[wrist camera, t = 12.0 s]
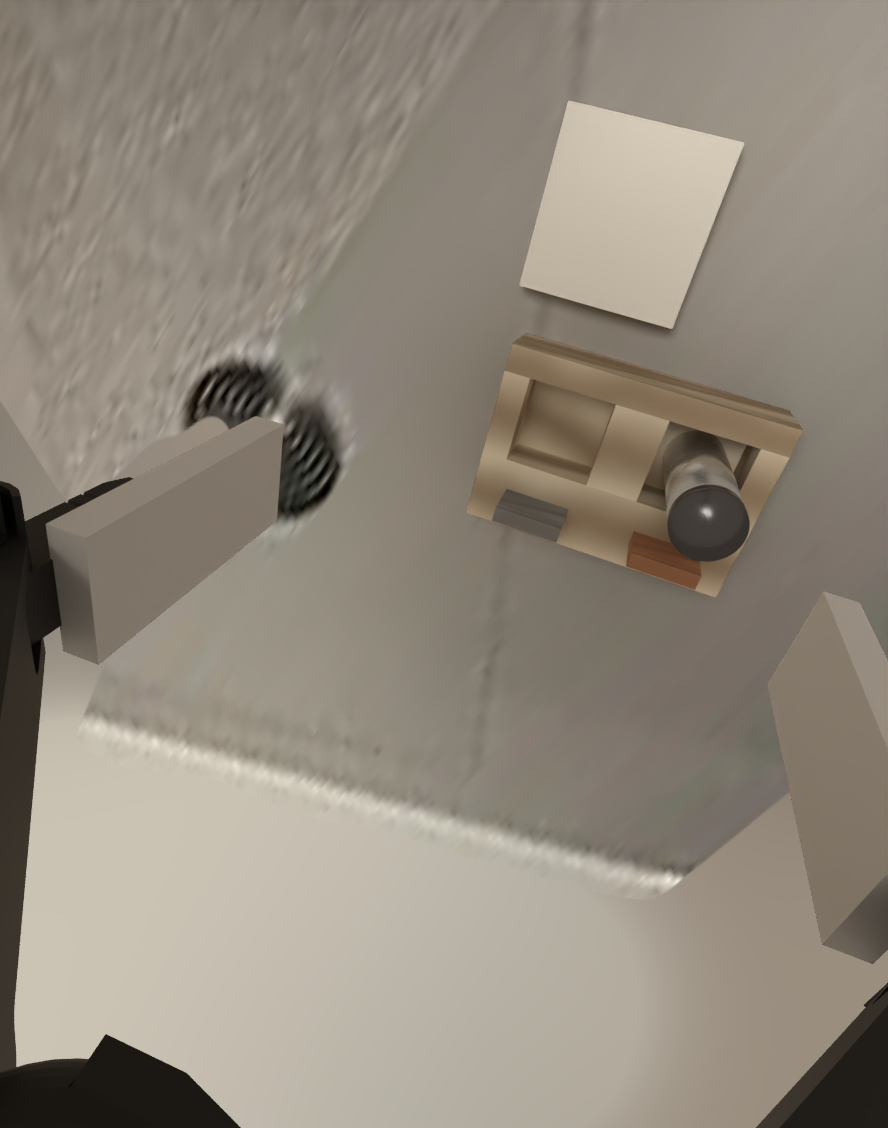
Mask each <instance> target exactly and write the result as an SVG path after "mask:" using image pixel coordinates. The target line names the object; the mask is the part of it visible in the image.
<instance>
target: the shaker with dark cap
mask: <svg viewBox="0 0 888 1128" xmlns="http://www.w3.org/2000/svg"><path fill="white" fill-rule="evenodd" d="M663 468H664V482H665V497H666V512H667V526H668V535H669V538H670V541H671V543H672V545H673V546H674V547H675V549H676V550H677V551H678V552H680V553H681V554H682V555H684V556H686V557H687V558H690V559H693V560H696V561H703V562H710V561H717V560H721V559H724V558H726V557H728V556H730V555H732V554H733V553H735V552H736V551H737V550H738V549H739V548H740V547H741V546H742V545H743V543H744V542H745V540H746V538H747V536H748V533H749V528H750V521H749V516H748V513H747V510H746V507H745V505H744V502H743V499H742V496H741V493H740V491H739V488H738V485H737V482H736V479H735V477H734V474H733V471H732V468H731V465H730V463H729V460H728V457H727V454H726V451H725V448H724V446H723V444H722V442H721V441H720V440H719V439H718V438H717V437H716V436H715V435H713V434H710V433H707V432H704V431H700V430H692V431H687V432H684V433H682V434H680V435H678V436H677V437H675V438H674V439H673V440H672V441H671V442H670V443H669V444H668V446H667V448H666V449H665V452H664V456H663Z"/></svg>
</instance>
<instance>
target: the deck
mask: <svg viewBox="0 0 888 1128" xmlns="http://www.w3.org/2000/svg"><path fill="white" fill-rule="evenodd" d="M743 145H744V142H740V141H735V140H731V139H727V138H723V137H719V136H715V135H710V134H706V133H702V132H698V131H694V130H690V129H686V128H681V127H677V126H673V125H669V124H665V123H661V122H656V121H652V120H648V119H644V118H640V117H636V116H632V115H627V114H623V113H619V112H615V111H611V110H607V109H602V108H598V107H594V106H590V105H586V104H582V103H578V102H573V101H569V100H568V104H567V107H566V111H565V115H564V119H563V123H562V126H561V130H560V134H559V138H558V141H557V145H556V149H555V153H554V156H553V160H552V164H551V168H550V171H549V175H548V179H547V183H546V187H545V190H544V194H543V198H542V202H541V205H540V209H539V213H538V217H537V220H536V224H535V228H534V232H533V235H532V239H531V243H530V247H529V251H528V254H527V258H526V262H525V266H524V269H523V273H522V277H521V281H520V284H519V286H523V287H526V288H530V289H533V290H537V291H540V292H544V293H547V294H551V295H554V296H558V297H561V298H565V299H568V300H572V301H575V302H579V303H582V304H586V305H589V306H593V307H596V308H600V309H603V310H607V311H610V312H614V313H617V314H621V315H624V316H628V317H631V318H635V319H638V320H642V321H645V322H649V323H652V324H656V325H659V326H663V327H666V328H670V329H672V328H673V326H674V323H675V321H676V318H677V315H678V313H679V310H680V308H681V305H682V303H683V300H684V297H685V295H686V292H687V290H688V287H689V285H690V282H691V279H692V277H693V274H694V272H695V269H696V266H697V264H698V261H699V259H700V256H701V254H702V251H703V248H704V246H705V243H706V241H707V238H708V236H709V233H710V230H711V228H712V225H713V223H714V220H715V218H716V215H717V212H718V210H719V207H720V205H721V202H722V200H723V197H724V194H725V192H726V189H727V187H728V184H729V182H730V179H731V176H732V174H733V171H734V169H735V166H736V164H737V161H738V158H739V156H740V153H741V151H742V148H743Z"/></svg>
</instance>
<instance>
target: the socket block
mask: <svg viewBox="0 0 888 1128" xmlns="http://www.w3.org/2000/svg"><path fill="white" fill-rule="evenodd" d="M692 430H700V431H704V432H707V433H710V434H713V435H715V436H716V437H717V438H718V439H719V440H720V441H721V442H722V444H723V446H724V448H725V451H726V454H727V457H728V460H729V463H730V465H731V468H732V471H733V474H734V477H735V479H736V482H737V485H738V488H739V491H740V493H741V496H742V499H743V502H744V505H745V507H746V510H747V513H748V516H749V521H750V528H749V533H748V536H749V534H750V532H751V530H752V528H753V526H754V524H755V523H756V521H757V519H758V517H759V515H760V513H761V511H762V509H763V507H764V505H765V504H766V502H767V500H768V498H769V496H770V494H771V492H772V490H773V488H774V486H775V485H776V483H777V481H778V479H779V477H780V475H781V473H782V471H783V469H784V467H785V466H786V464H787V462H788V460H789V458H790V456H791V454H792V452H793V450H794V448H795V447H796V445H797V443H798V441H799V439H800V437H801V435H802V433H803V429H802V428H801V427H800V425H799V424H798V422H797V421H796V420H795V418H794V417H793V415H792V414H791V412H790V411H788V410H784V409H781V408H778V407H774V406H771V405H767V404H764V403H761V402H757V401H754V400H751V399H747V398H744V397H740V396H737V395H734V394H730V393H727V392H724V391H720V390H717V389H713V388H710V387H707V386H703V385H700V384H697V383H693V382H690V381H686V380H683V379H680V378H676V377H673V376H669V375H666V374H663V373H659V372H656V371H653V370H649V369H646V368H642V367H639V366H636V365H632V364H629V363H626V362H622V361H619V360H615V359H612V358H609V357H605V356H602V355H599V354H595V353H592V352H588V351H585V350H582V349H578V348H575V347H572V346H568V345H565V344H561V343H558V342H555V341H551V340H548V339H544V338H541V337H538V336H534V335H531V334H528V333H526V334H524V335H523V336H522V337H520V338H519V339H518V340H516V341H515V342H514V343H512V346H511V349H510V353H509V357H508V361H507V364H506V368H505V372H504V375H503V379H502V383H501V386H500V390H499V394H498V397H497V401H496V405H495V408H494V412H493V416H492V419H491V423H490V427H489V430H488V434H487V438H486V441H485V445H484V449H483V452H482V456H481V460H480V463H479V467H478V471H477V475H476V478H475V482H474V486H473V489H472V493H471V497H470V500H469V504H468V508H467V511H466V513H469V514H472V515H475V516H478V517H481V518H484V519H487V520H490V521H492V522H495V523H498V524H501V525H504V526H507V527H510V528H513V529H516V530H519V531H522V532H525V533H528V534H531V535H533V536H536V537H539V538H542V539H545V540H548V541H551V542H554V543H557V544H560V545H563V546H566V547H569V548H572V549H574V550H577V551H580V552H583V553H586V554H589V555H592V556H595V557H598V558H601V559H604V560H607V561H610V562H613V563H615V564H618V565H621V566H624V567H627V568H630V569H633V570H636V571H639V572H642V573H645V574H648V575H651V576H654V577H656V578H659V579H662V580H665V581H668V582H671V583H674V584H677V585H680V586H683V587H686V588H689V589H692V590H695V591H697V592H700V593H703V594H706V595H709V596H712V597H715V598H716V597H717V595H718V593H719V591H720V589H721V587H722V585H723V583H724V581H725V580H726V578H727V576H728V574H729V572H730V570H731V568H732V566H733V564H734V562H735V561H736V559H737V557H738V555H739V553H740V551H741V549H742V547H743V545H744V543H745V542H746V540H747V538H748V536H747V538H746V540H745V542H744V543H743V545H742V546H741V547H740V548H739V549H738V550H737V551H736V552H735V553H733V554H732V555H730V556H728V557H726V558H724V559H721V560H717V561H710V562H703V561H696V560H693V559H690V558H687V557H686V556H684V555H682V554H681V553H680V552H678V551H677V550H676V549H675V547H674V546H673V545H672V543H671V541H670V538H669V535H668V526H667V512H666V497H665V482H664V468H663V456H664V452H665V449H666V448H667V446H668V444H669V443H670V442H671V441H672V440H673V439H674V438H675V437H677V436H678V435H680V434H682V433H684V432H687V431H692Z"/></svg>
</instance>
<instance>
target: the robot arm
mask: <svg viewBox="0 0 888 1128" xmlns="http://www.w3.org/2000/svg"><path fill="white" fill-rule="evenodd" d="M282 438H283V424H280V423H276V422H273V421H270V420H267V419H263V418H260V417H257V416H255V417H253V418H251V419H249V420H247V421H245V422H244V423H242V424H240V425H238V426H236V427H234V428H232V429H230V430H228V431H226V432H224V433H222V434H220V435H218V436H216V437H214V438H212V439H211V440H209V441H206V442H205V443H203V444H201V445H199V446H197V447H195V448H193V449H191V450H189V451H187V452H185V453H183V454H181V455H179V456H177V457H175V458H174V459H172V460H169V461H167V462H166V463H164V464H162V465H160V466H158V467H156V468H154V469H152V470H150V471H148V472H146V473H144V474H142V475H140V476H138V477H136V478H134V479H133V478H130V477H128V478H123V479H119V480H114V481H110V482H105V483H102V484H100V485H98V486H96V487H94V488H92V489H90V490H88V491H86V492H84V495H81V494H80V495H78V496H76V497H74V498H72V499H70V500H68V503H65V502H64V503H62V504H60V505H58V506H56V507H54V508H52V509H50V510H48V511H46V512H43V513H42V514H40V515H38V516H35V517H33V518H32V519H29V520H27V521H25V520H24V514H23V508H22V501H21V496H20V493H19V490H18V489H17V488H16V487H14V486H13V485H11V484H9V483H5V482H1V481H0V1128H240V1127H239V1126H238V1125H237V1124H236V1123H235V1122H234V1121H233V1120H232V1119H231V1117H230V1116H228V1114H227V1113H226V1112H224V1110H223V1109H222V1108H220V1106H219V1105H218V1104H217V1103H216V1102H215V1101H214V1100H213V1099H212V1098H211V1097H210V1096H209V1095H208V1094H207V1093H206V1092H205V1091H204V1090H203V1089H202V1088H201V1087H200V1086H199V1085H198V1084H197V1083H196V1082H195V1081H194V1080H193V1079H192V1078H191V1077H190V1076H189V1075H188V1074H187V1073H185V1072H183V1071H181V1070H179V1069H177V1068H175V1067H173V1066H171V1065H169V1064H166V1063H164V1062H162V1061H160V1060H158V1059H156V1058H154V1057H152V1056H150V1055H148V1054H146V1053H144V1052H142V1051H140V1050H138V1049H135V1048H133V1047H131V1046H129V1045H127V1044H125V1043H123V1042H121V1041H119V1040H117V1039H115V1038H113V1037H111V1036H108V1035H107V1034H106V1035H105V1036H104V1038H103V1039H102V1041H101V1042H100V1044H99V1045H98V1047H97V1048H96V1049H95V1051H94V1052H93V1054H92V1056H91V1057H90V1058H89V1059H55V1060H48V1061H43V1062H37V1063H31V1064H26V1065H23V1066H20V1067H16V1044H15V1030H14V1004H15V991H16V979H17V968H18V957H19V946H20V934H21V923H22V911H23V901H24V889H25V878H26V867H27V855H28V844H29V833H30V821H31V809H32V799H33V788H34V776H35V764H36V754H37V741H38V731H39V720H40V707H41V697H42V686H43V674H44V663H45V647H44V640H43V637H45V636H46V635H48V634H49V633H51V632H52V631H54V630H55V629H56V628H58V627H59V626H60V630H61V637H62V644H63V651H64V652H67V653H70V654H72V655H75V656H77V657H80V658H83V659H85V660H88V661H90V662H93V663H96V664H100V663H101V662H102V661H104V660H105V659H106V658H107V657H109V656H110V655H111V654H112V653H114V652H115V651H116V650H117V649H119V648H120V647H121V646H122V645H124V644H125V643H126V642H127V641H128V640H130V639H131V638H132V637H133V636H135V635H136V634H137V633H138V632H140V631H141V630H142V629H143V628H145V627H146V626H147V625H148V624H149V623H151V622H152V621H153V620H154V619H156V618H157V617H158V616H159V615H161V614H162V613H163V612H164V611H166V610H167V609H168V608H169V607H171V606H172V605H173V604H174V603H175V602H177V601H178V600H179V599H180V598H182V597H183V596H184V595H185V594H187V593H188V592H189V591H190V590H192V589H193V588H194V587H195V586H196V585H198V584H199V583H200V582H201V581H203V580H204V579H205V578H206V577H208V576H209V575H210V574H211V573H213V572H214V571H215V570H216V569H218V568H219V567H220V566H221V565H222V564H224V563H225V562H226V561H227V560H229V559H230V558H231V557H232V556H234V555H235V554H236V553H237V552H239V551H240V550H241V549H242V548H243V547H245V546H246V545H247V544H248V543H250V542H251V541H252V540H253V539H255V538H256V537H257V536H258V535H260V534H261V533H262V532H263V531H265V530H266V529H267V528H268V527H269V526H271V525H272V524H273V523H274V522H276V521H277V509H278V495H279V481H280V467H281V452H282ZM767 686H768V691H769V695H770V700H771V705H772V710H773V714H774V719H775V724H776V729H777V733H778V738H779V743H780V748H781V752H782V757H783V762H784V767H785V771H786V776H787V781H788V786H789V790H790V795H791V800H792V804H793V809H794V814H795V819H796V823H797V828H798V833H799V838H800V842H801V847H802V852H803V857H804V861H805V866H806V870H807V876H808V880H809V885H810V890H811V894H812V899H813V903H814V909H815V913H816V918H817V923H818V927H819V932H820V937H821V942H822V945H825V946H828V947H830V948H833V949H835V950H838V951H841V952H843V953H845V954H848V955H851V956H853V957H856V958H858V959H861V960H864V961H866V962H869V963H871V964H873V963H874V962H875V961H876V960H878V959H879V958H880V957H881V956H882V955H883V954H884V953H885V952H886V951H887V950H888V660H887V658H886V656H885V654H884V652H883V650H882V648H881V646H880V644H879V642H878V640H877V638H876V636H875V633H874V631H873V629H872V627H871V625H870V623H869V621H868V619H867V617H866V615H865V613H864V611H863V609H862V607H861V605H860V603H859V602H856V601H853V600H849V599H846V598H843V597H840V596H836V595H833V594H830V593H827V592H823V593H822V595H821V596H820V598H819V600H818V601H817V603H816V605H815V606H814V608H813V610H812V611H811V613H810V614H809V616H808V618H807V619H806V621H805V623H804V624H803V626H802V628H801V629H800V631H799V633H798V634H797V636H796V638H795V639H794V641H793V642H792V644H791V646H790V647H789V649H788V651H787V652H786V654H785V656H784V657H783V659H782V661H781V662H780V664H779V666H778V667H777V669H776V670H775V672H774V674H773V675H772V677H771V679H770V680H769V682H768V684H767ZM864 1006H865V1007H866V1008H865V1009H864V1010H863V1011H862V1012H861V1013H860V1014H859V1016H858V1017H857V1018H856V1019H855V1020H854V1021H853V1022H852V1023H851V1024H850V1025H849V1026H848V1028H847V1029H846V1030H845V1031H844V1032H843V1033H842V1034H841V1035H840V1036H839V1038H838V1039H837V1040H836V1041H835V1042H834V1043H833V1044H832V1045H831V1046H830V1047H829V1048H828V1049H827V1050H826V1052H825V1053H824V1054H823V1055H822V1056H821V1057H820V1058H819V1059H818V1061H816V1063H815V1064H814V1065H813V1066H812V1067H811V1068H810V1069H809V1070H808V1071H807V1072H806V1073H805V1075H804V1076H803V1077H802V1078H801V1079H800V1080H799V1081H798V1082H797V1083H796V1085H795V1086H794V1087H793V1088H792V1089H791V1090H790V1091H789V1092H788V1093H787V1094H786V1096H784V1098H783V1099H782V1100H781V1101H780V1102H779V1103H778V1104H777V1105H776V1106H775V1107H774V1108H773V1110H772V1111H771V1112H770V1113H769V1114H768V1115H767V1116H766V1117H765V1118H764V1119H763V1121H762V1122H761V1123H760V1124H759V1125H758V1126H757V1127H756V1128H888V983H887V984H886V985H885V986H884V987H883V988H882V989H881V990H880V991H879V992H878V993H877V994H875V995H874V996H873V997H872V998H871V999H870V1000H869V1001H868V1002H867V1003H866V1004H864Z"/></svg>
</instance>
